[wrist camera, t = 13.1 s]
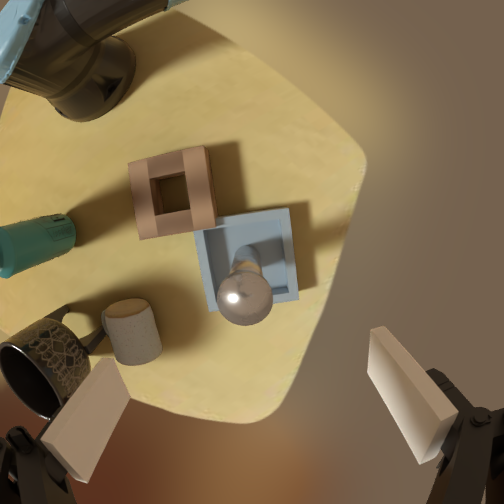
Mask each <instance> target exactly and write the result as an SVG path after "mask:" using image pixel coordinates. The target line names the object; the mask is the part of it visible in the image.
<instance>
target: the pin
mask: <svg viewBox="0 0 504 504" xmlns="http://www.w3.org/2000/svg"><path fill="white" fill-rule="evenodd" d="M272 305H273V295H272V290H271V287H270V285H269V283H268V281H267V280H266V279H265V278H264V277H263V272H262V265H261V258H260V254H259V252H258V250H257V249H256V248H255V247H253V246H249V245H245V246H242V247H240V248H238V249H237V251H236V252H235V255H234V259H233V262H232V266H231V270H230V274H229V275H228V276H227V277H226V278H225V279H224V280H223V281H222V283H221V285H220V287H219V290H218V293H217V306H218V309H219V311H220V312H221V314H222V315H223V316H224V317H225V318H226V319H227V320H228V321H230V322H232V323H234V324H237V325H242V326H248V325H253V324H256V323H259V322H260V321H262V320H263V319H264V318H266V316H267V315H268V314H269V313H270V311H271V308H272Z"/></svg>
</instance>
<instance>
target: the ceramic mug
mask: <svg viewBox="0 0 504 504" xmlns="http://www.w3.org/2000/svg"><path fill="white" fill-rule="evenodd" d="M101 320H102V325H103V328H104V330H105V332H106V334H107V335H108V337H109V338H110V340H111V344H112V348H113V351H114V355H115V358H116V360H117V361H118V362H119V363H121V364H123V365H129V366H134V365H142V364H146V363H148V362H150V361H153V360H154V359H156V358H157V357H158V356H159V355H160V354H161V353H162V344H161V341H160V337H159V334H158V330H157V327H156V324H155V320H154V315H153V312H152V309H151V307H150V305H149V303H148V302H147V301H146V300H144V299H139V298H134V299H126V300H122V301H118V302H116V303H113V304H111V305H110V306H109V307H108V308H107V309H105V310H104V311H102V314H101Z"/></svg>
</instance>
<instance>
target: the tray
mask: <svg viewBox="0 0 504 504" xmlns="http://www.w3.org/2000/svg"><path fill="white" fill-rule="evenodd" d="M216 225H217V227H216V228H210V229H204V230H197V231H193V232H194V238H195V243H196V249H197V254H198V259H199V265H200V270H201V275H202V280H203V285H204V290H205V295H206V299H207V304H208V309H209V312H213V311H219V309H218V306H217V293H218V290H219V287H220V285H221V283H222V281H223V280H224V279H225V278H226V277H227V276H228V275H229V274H230V270H231V266H232V262H233V259H234V255H235V252H236V251H237V249H238V248H240V247H242V246H245V245H249V246H253V247H255V248H256V249H257V250H258V252H259V254H260V258H261V265H262V272H263V277H264V278H265V279H266V280H267V281H268V283H269V285H270V287H271V290H272V295H273V304H275V303H282V302H288V301H295V300H299V294H298V284H297V274H296V265H295V256H294V247H293V238H292V230H291V222H290V214H289V208H287V207H281V208H274V209H266V210H259V211H252V212H245V213H238V214H232V215H225V216H219V217H217V218H216Z"/></svg>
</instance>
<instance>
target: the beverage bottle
mask: <svg viewBox="0 0 504 504" xmlns="http://www.w3.org/2000/svg"><path fill="white" fill-rule="evenodd" d="M31 219H32V220H27V221H22V222H21V221H20V222H18V221H17V222H18V223H15V224H10V225H6V226H2V227H0V277H2V278H9V277H11V276H13V275H15V274H17V273H19V272H22V271H24V270H26V269H29V268H31V267H33V266H35V267H36V265H39V264H41V263H44V262H46V261H48V260H51V259H52V260H53V259H54V258H55V257H60V255H63V254H65V253H66V254H67V252H68V253H69V251H70V250H71V249H72V248H73V246H74V244H75V241H76V230H75V226H74V224H73V222H72V220H71V219H70V218H69V217H68V216H66V215H63V214H62V213H61V214H54V215H50V216H48V215H47V216H41V217H39V218H37V217H36V219H34V218H31Z"/></svg>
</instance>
